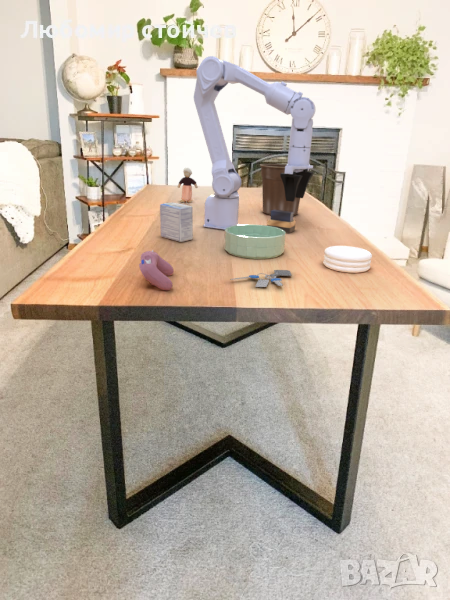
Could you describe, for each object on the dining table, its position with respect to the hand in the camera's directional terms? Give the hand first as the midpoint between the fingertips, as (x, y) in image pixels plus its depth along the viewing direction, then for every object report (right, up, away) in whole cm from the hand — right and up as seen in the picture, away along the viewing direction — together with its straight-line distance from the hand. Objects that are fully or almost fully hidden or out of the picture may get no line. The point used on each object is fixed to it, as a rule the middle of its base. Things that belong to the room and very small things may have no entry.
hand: (294, 199), depth 122 cm
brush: (-3, -7, +7) cm, 10 cm away
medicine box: (-32, -12, -7) cm, 35 cm away
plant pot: (0, +2, +33) cm, 33 cm away
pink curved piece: (-32, -25, -39) cm, 56 cm away
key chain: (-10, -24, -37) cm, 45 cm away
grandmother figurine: (-34, +10, +49) cm, 60 cm away
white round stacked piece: (+7, -21, -25) cm, 33 cm away
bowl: (-12, -16, -16) cm, 26 cm away
